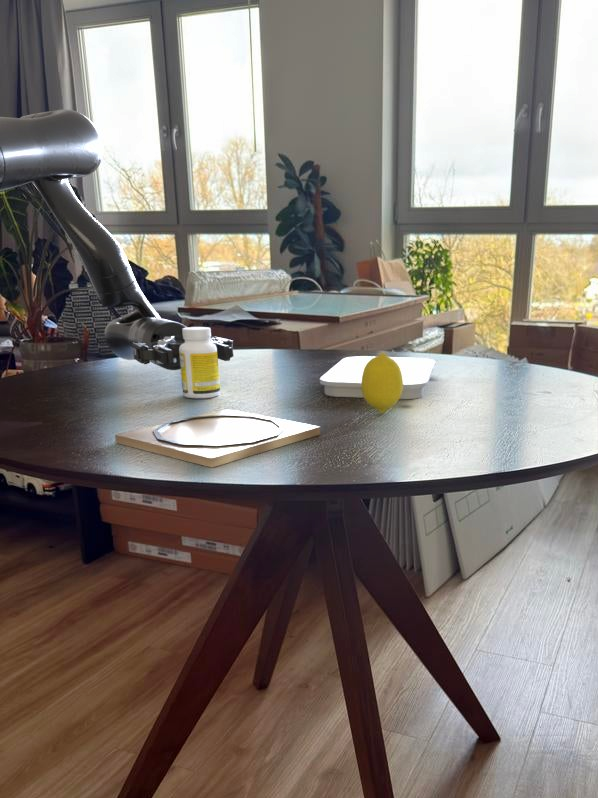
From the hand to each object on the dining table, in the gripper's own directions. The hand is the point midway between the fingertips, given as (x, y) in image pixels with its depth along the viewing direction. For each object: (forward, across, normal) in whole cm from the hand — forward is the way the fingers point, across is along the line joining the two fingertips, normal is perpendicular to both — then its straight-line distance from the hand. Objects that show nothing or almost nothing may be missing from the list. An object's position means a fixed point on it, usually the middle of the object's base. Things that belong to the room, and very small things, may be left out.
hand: (200, 355), depth 105 cm
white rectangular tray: (+4, +29, +6) cm, 30 cm away
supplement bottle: (-1, 0, +6) cm, 6 cm away
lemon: (+23, +17, +6) cm, 29 cm away
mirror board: (+24, -7, +6) cm, 26 cm away
